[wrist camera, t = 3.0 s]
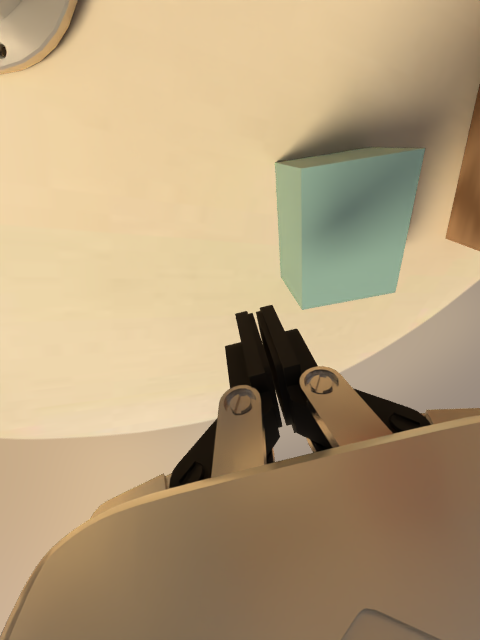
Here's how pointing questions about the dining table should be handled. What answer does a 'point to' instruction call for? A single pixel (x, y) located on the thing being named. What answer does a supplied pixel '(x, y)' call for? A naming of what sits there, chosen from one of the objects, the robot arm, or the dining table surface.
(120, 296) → the dining table surface
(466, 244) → the batten
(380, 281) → the block
